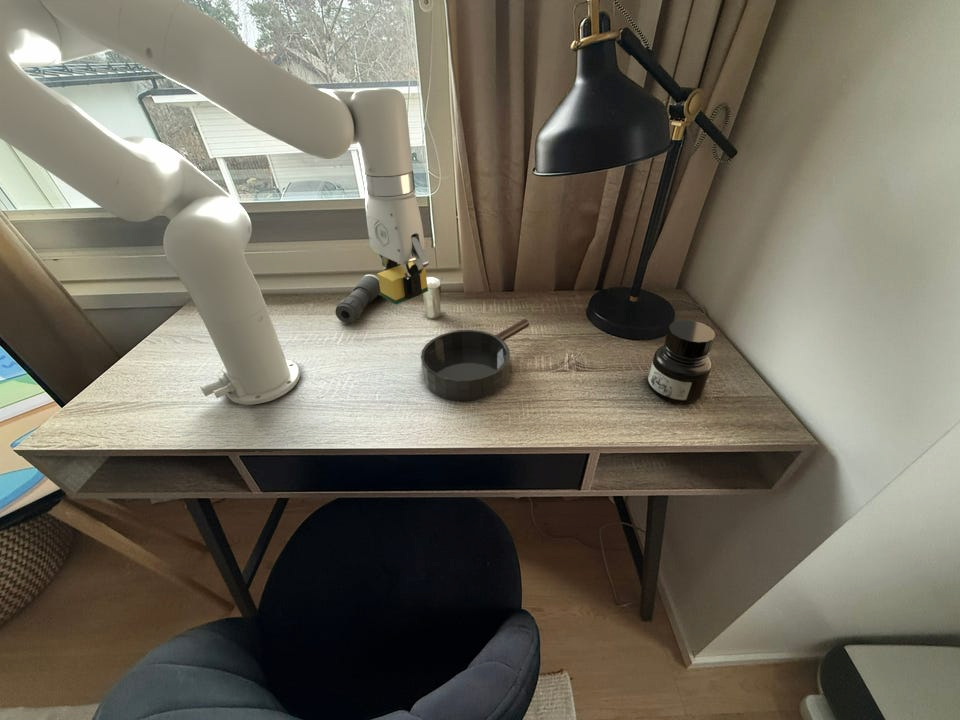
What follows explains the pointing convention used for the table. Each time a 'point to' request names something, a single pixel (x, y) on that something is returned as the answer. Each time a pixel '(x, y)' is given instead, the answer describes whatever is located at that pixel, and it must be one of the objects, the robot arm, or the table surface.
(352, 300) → the flashlight
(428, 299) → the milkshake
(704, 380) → the ink bottle
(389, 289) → the sponge
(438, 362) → the pan
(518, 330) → the pan handle
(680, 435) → the table surface
